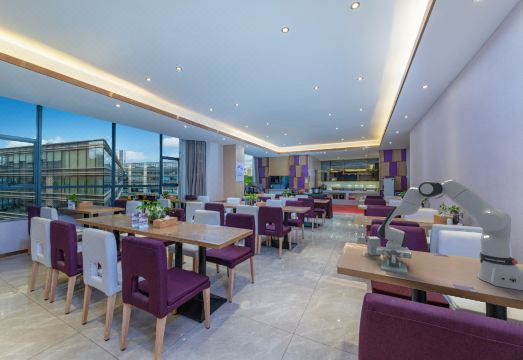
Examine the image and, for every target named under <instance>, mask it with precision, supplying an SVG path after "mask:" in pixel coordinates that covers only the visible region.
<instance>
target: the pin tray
mask: <svg viewBox="0 0 523 360" xmlns="http://www.w3.org/2000/svg"><path fill="white" fill-rule="evenodd" d="M380 270H381V271H386V272H391V273H399V274H404V275H408V274H409V273H408V272H409V271H408V268H407V264H406V262H401V261H399V260H397V267H391V260H389V259H386V260H385V259H381V264H380Z"/></svg>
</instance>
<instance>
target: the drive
mask: <svg viewBox="0 0 523 360" xmlns="http://www.w3.org/2000/svg"><path fill="white" fill-rule="evenodd" d="M390 261H391V267H397V262H398V257H397V252H396V250H391V256H390Z"/></svg>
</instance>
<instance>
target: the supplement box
mask: <svg viewBox="0 0 523 360" xmlns="http://www.w3.org/2000/svg"><path fill="white" fill-rule="evenodd" d="M366 242H367V243H366V246H367V247H366V248H367V250H366V251H367V254H369V255H370V256H380V255H379V254H377V253H376V248H378V247H382V246H381V237H379V236H366Z"/></svg>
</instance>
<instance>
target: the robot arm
mask: <svg viewBox="0 0 523 360" xmlns="http://www.w3.org/2000/svg"><path fill="white" fill-rule="evenodd" d="M443 196H445V197H446V198H448V199H449V200H450V201H452V202H453V203H454V204H456V205H457V206H459V207H460V209H462V210H463V211H464V212H466V213H467V214H468V216H469V217H470V218H471V219H472V220H474V222H476V223H477V225H478V226H479V227H480V228H482V229H481V235H480V236H481V237H480V252H479V263H480V267H479V272H478V275H477V277H478V279H479V280H481V281H484V282H487V283H489V284H491V285H493V286H496V287H501V288H507V289H513V290H519V291H523V269H522V268H520V266H517V265H518V261H517V260H516V259H515V258H514V257H511V252H510V250H511V249H510V248H511V247H510V243H511V242H510V241H511V230H512V229H511V228H512V217H511V215H510V214H509V213H508V212H507V211H505V210H501V209H499V208H494V207H493V206H492V205H490V203H488V202H487V201H486V200H485V199H484V197H482V196H481V195H479V194H478V193H477V192H475V191H474V190H472V189H471V188H470V187H468V186H466V185H465V184H463V183H461V182H460V181H459V180H456V179H447V180H445V181H444V182H442V183H441V182H436V181H431V180H428V181H423V182H421V183H420V185H418V187H414V186H413V187H409V188H408V189H407V191H406V192H405V194H404V196H403V197H402V200H401V202H400V203H399V204H397V205H394V206H393V207H392V208H391V210H390V212H389V213H388V214H387V216H386V217H385V219H384V220H383V222H382V224H380V226H379V227H378V228H377V232H376V233H377V235H378V237H379V238H380V239H381V238H382V239H385V240H388V241H387V242H386V245H385V247H384V246H381V247H378V248H376V253H377V254H379V255H378V256H386V257H391V250H396V252H397V258H398V259H403V258H404V259H410V260H411V259H412V254H413V253H412V252H411V250H410V249H409V248H408V247H407V246H405V245H406V243H407V241H408V236H407V233H406V232H405V231H403V230H401V229H398V228H395V227H392V226H390V224H391V223H392V221H393V219H394V218H395V217H396V216H413V215H415V214H417V213H418V211H419V210H420V208H421V205H422V203H423V201H424V200H425V199H432V200H433V199H435V200H436V199H437V200H438V199H439V198H442V197H443Z"/></svg>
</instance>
